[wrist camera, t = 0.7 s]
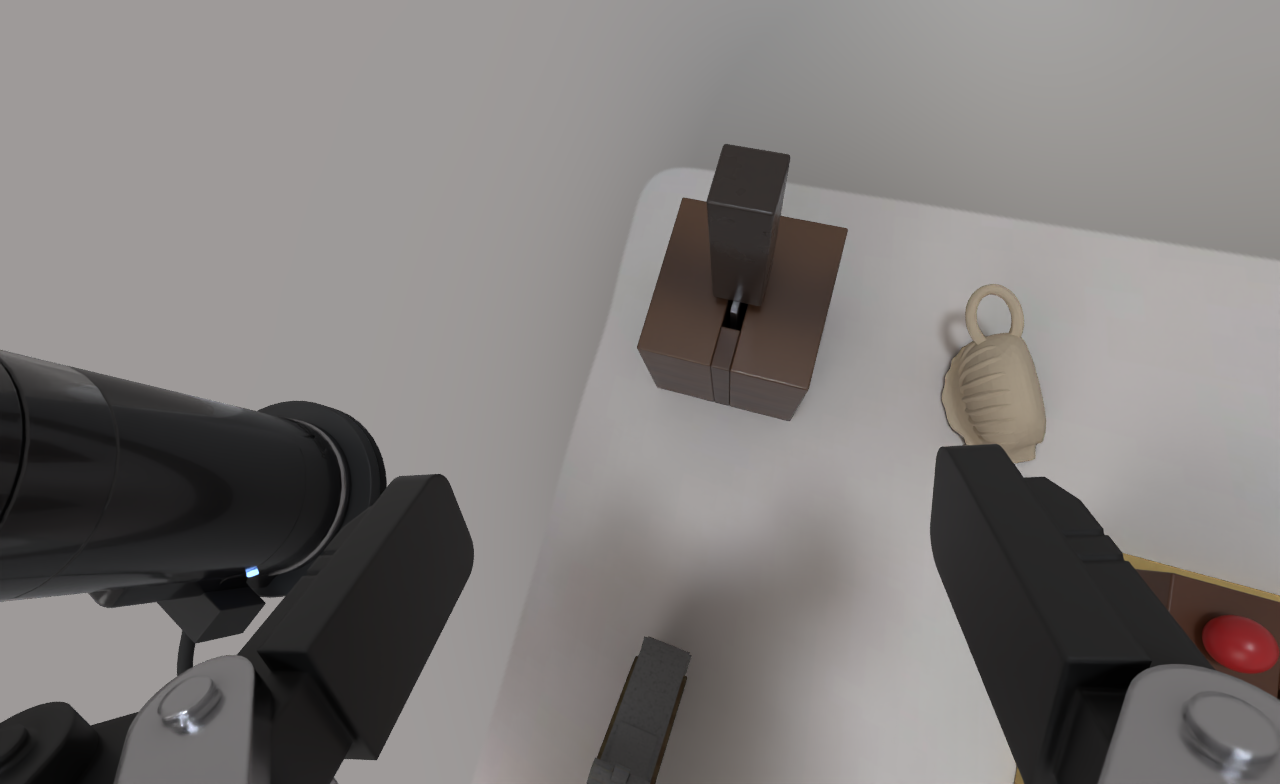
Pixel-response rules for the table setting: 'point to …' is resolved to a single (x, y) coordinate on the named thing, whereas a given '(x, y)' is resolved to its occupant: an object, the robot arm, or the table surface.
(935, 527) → the robot arm
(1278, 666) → the cake
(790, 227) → the knife block
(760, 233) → the knife
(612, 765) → the handgun
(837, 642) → the table surface
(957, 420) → the decorative ornament
